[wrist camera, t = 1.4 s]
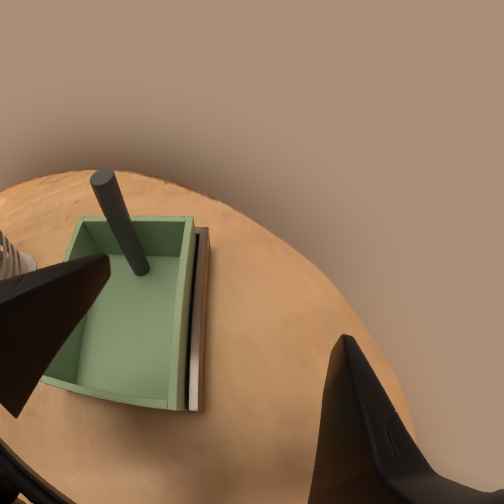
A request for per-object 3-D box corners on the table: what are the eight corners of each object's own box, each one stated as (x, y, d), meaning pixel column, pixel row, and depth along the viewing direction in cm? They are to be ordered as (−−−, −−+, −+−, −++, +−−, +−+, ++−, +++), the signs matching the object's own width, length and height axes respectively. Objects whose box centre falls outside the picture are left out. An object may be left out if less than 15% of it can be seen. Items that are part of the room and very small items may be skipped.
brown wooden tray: (203, 412, 19) (198, 412, 17) (65, 389, 18) (45, 383, 15) (210, 248, 28) (208, 227, 26) (95, 245, 27) (84, 226, 25)
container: (189, 411, 19) (147, 408, 9) (73, 391, 18) (-23, 355, 8) (198, 255, 28) (186, 153, 17) (100, 252, 27) (53, 163, 16)
